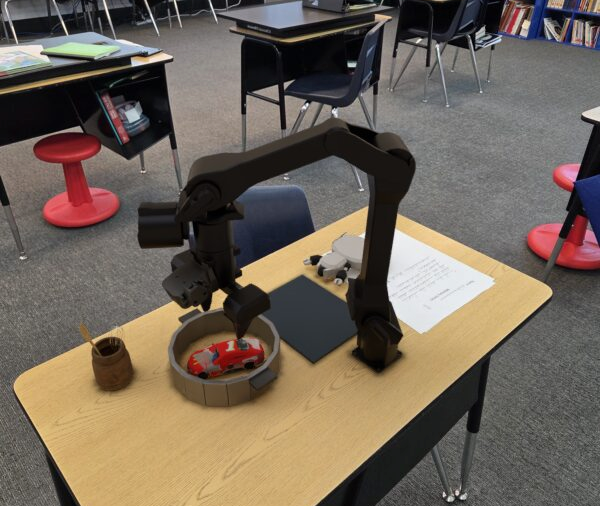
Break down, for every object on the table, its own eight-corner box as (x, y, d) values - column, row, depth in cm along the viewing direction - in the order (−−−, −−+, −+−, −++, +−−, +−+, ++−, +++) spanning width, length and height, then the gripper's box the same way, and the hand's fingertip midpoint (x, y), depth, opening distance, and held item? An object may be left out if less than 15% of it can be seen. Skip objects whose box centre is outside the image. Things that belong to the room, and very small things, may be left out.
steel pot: (310, 373, 91) (310, 351, 88) (221, 435, 80) (218, 412, 78) (230, 310, 105) (228, 289, 102) (145, 355, 94) (141, 334, 92)
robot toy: (339, 298, 109) (389, 265, 117) (339, 280, 107) (389, 248, 114) (299, 271, 117) (348, 242, 125) (298, 254, 114) (348, 226, 122)
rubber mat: (374, 321, 102) (374, 320, 102) (313, 363, 93) (313, 362, 92) (302, 275, 114) (302, 274, 114) (242, 308, 105) (241, 307, 105)
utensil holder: (132, 389, 88) (119, 333, 81) (92, 394, 87) (75, 338, 81) (135, 363, 93) (123, 308, 86) (97, 367, 92) (82, 312, 86)
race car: (188, 384, 89) (186, 366, 87) (185, 361, 93) (182, 344, 91) (267, 368, 92) (266, 350, 90) (260, 346, 96) (259, 329, 94)
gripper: (133, 237, 81) (149, 318, 89) (204, 294, 69) (215, 381, 77) (196, 213, 87) (206, 290, 95) (271, 260, 75) (274, 344, 84)
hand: (222, 323), depth 88 cm, fingers open, 9 cm apart
